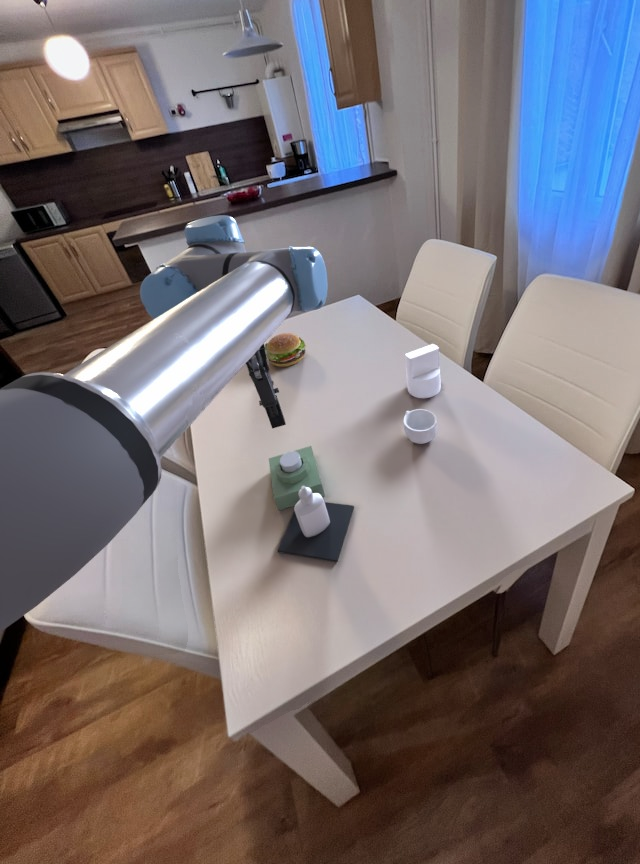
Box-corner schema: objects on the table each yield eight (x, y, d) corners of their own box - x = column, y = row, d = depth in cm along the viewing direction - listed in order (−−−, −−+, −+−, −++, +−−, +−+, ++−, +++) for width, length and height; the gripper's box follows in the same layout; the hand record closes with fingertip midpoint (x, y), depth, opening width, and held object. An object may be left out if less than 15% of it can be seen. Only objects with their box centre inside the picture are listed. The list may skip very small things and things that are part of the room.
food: (261, 356, 138) (254, 336, 133) (299, 343, 141) (294, 323, 137) (271, 375, 127) (264, 354, 122) (312, 360, 131) (307, 339, 126)
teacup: (444, 439, 94) (443, 422, 91) (416, 453, 92) (415, 436, 88) (419, 417, 101) (418, 400, 98) (393, 429, 99) (391, 412, 96)
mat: (337, 562, 73) (336, 560, 72) (277, 552, 76) (276, 550, 76) (354, 507, 82) (353, 505, 82) (300, 500, 85) (299, 498, 85)
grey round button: (303, 469, 85) (301, 462, 84) (283, 475, 84) (280, 469, 83) (300, 455, 88) (298, 448, 87) (280, 461, 88) (278, 454, 86)
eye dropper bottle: (330, 535, 77) (318, 494, 70) (301, 539, 77) (286, 499, 70) (330, 515, 80) (319, 475, 73) (302, 519, 81) (288, 479, 74)
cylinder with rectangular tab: (418, 402, 106) (416, 364, 99) (401, 385, 113) (398, 349, 106) (447, 390, 109) (446, 353, 102) (429, 375, 116) (427, 338, 109)
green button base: (325, 496, 85) (319, 477, 82) (278, 510, 84) (271, 492, 80) (314, 457, 95) (309, 439, 91) (273, 470, 93) (266, 452, 90)
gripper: (219, 307, 70) (257, 410, 84) (218, 341, 60) (262, 451, 74) (261, 297, 72) (292, 400, 85) (268, 328, 61) (302, 440, 75)
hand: (278, 424), depth 80 cm, fingers closed
